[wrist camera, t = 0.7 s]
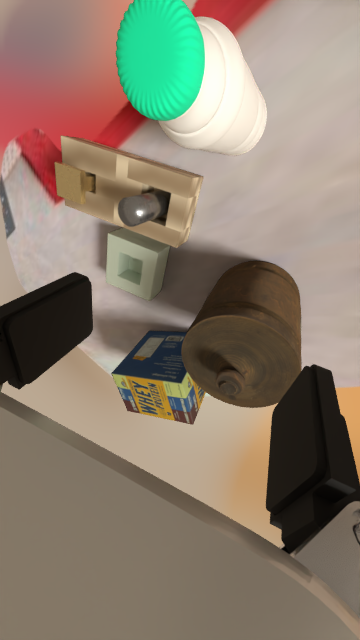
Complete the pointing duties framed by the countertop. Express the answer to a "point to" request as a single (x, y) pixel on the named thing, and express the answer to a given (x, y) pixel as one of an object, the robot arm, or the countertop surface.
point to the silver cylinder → (143, 207)
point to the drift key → (73, 182)
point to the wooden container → (247, 336)
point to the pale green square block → (136, 263)
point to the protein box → (159, 379)
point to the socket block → (133, 188)
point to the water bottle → (189, 77)
